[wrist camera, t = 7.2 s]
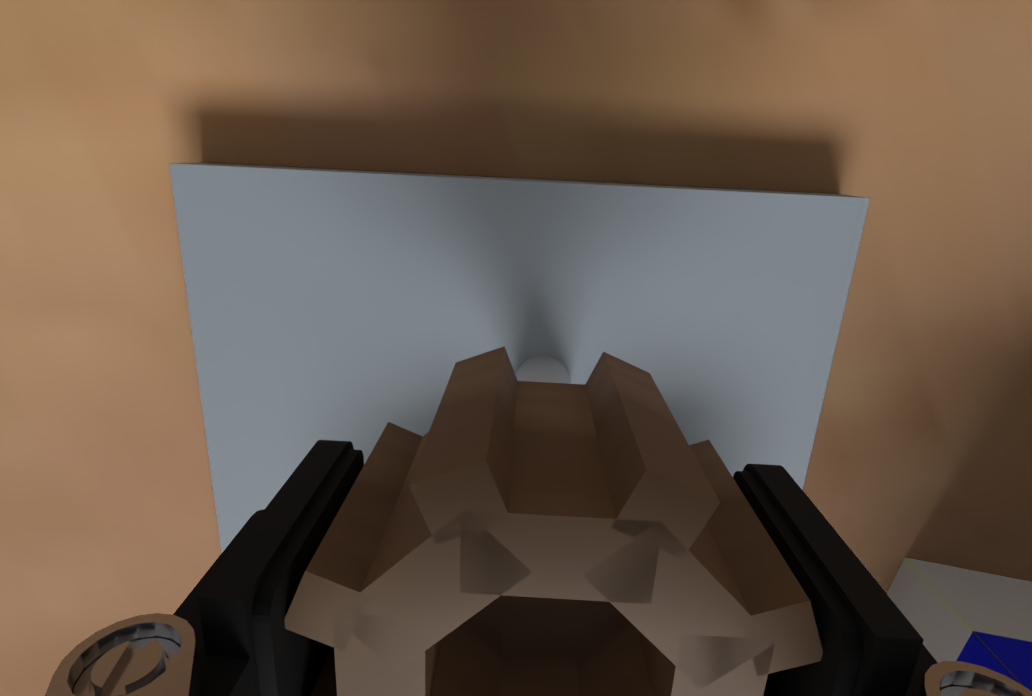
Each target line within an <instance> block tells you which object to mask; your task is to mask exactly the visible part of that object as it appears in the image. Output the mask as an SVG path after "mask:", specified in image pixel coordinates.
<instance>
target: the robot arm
mask: <svg viewBox="0 0 1032 696" xmlns="http://www.w3.org/2000/svg"><path fill="white" fill-rule="evenodd" d="M363 466H364V457H363V452H362V450H354V447H353V444H352V442H351V441H334V440H318V441H317V442H316V443H315V445H314V446H313V447H312V448H311V450H310V451H309V452H308V454H307V455H306V456H305V458H304V459H303V460H302V461H301V463H300V464H299V465H298V467H297V468H296V469H295V470H294V472H293V473H292V474H291V476H290V477H289V478H288V480H287V481H286V482H285V483H284V485H283V486H282V487H281V489H280V490H279V491H278V493H277V494H276V495H275V496H274V498H273V499H272V500H271V502H270V503H269V504H268V506H267V507H266V508H265V509H264V510H258V511H256V512H255V513H254V514H253V515H252V516H251V517H250V518H249V520H248V521H247V522H246V524H245V525H244V526H243V527H242V529H241V530H240V531H239V532H238V534H237V535H236V536H235V537H234V539H233V540H232V541H231V542H230V544H229V545H228V546H227V547H226V549H225V550H224V551H223V553H222V554H221V555H220V556H219V558H218V559H217V560H216V561H215V563H214V564H213V565H212V566H211V568H210V569H209V570H208V571H207V573H206V574H205V575H204V576H203V578H202V579H201V580H200V581H199V583H198V584H197V585H196V587H195V588H194V589H193V590H192V592H191V593H190V594H189V595H188V597H187V598H186V599H185V600H184V602H183V603H182V604H181V605H180V607H179V608H178V609H177V610H176V612H175V613H174V614H173V615H171V614H160V613H155V614H147V615H139V616H135V617H132V618H128V619H125V620H122V621H119V622H116V623H114V624H112V625H110V626H108V627H106V628H103V629H101V630H99V631H97V632H95V633H94V634H93V635H91V636H90V637H88V638H87V639H85V640H84V641H82V642H81V643H80V644H78V645H77V646H76V647H75V648H74V649H73V650H72V651H71V652H70V653H69V654H68V655H67V656H66V657H65V658H64V659H63V660H62V661H61V663H60V665H59V666H58V668H57V670H56V671H55V673H54V675H53V676H52V679H51V682H50V684H49V687H48V689H47V692H46V694H45V696H310V695H311V693H312V691H313V688H314V686H315V684H316V681H317V679H318V676H319V674H320V672H321V669H322V667H323V664H324V662H325V660H326V657H327V655H328V652H329V650H330V648H331V646H329V645H326V644H323V643H321V642H318V641H316V640H313V639H310V638H308V637H305V636H303V635H300V634H297V633H295V632H292V631H289V630H287V629H285V621H284V619H285V617H286V615H287V612H288V610H289V608H290V605H291V603H292V601H293V598H294V596H295V594H296V591H297V589H298V587H299V584H300V582H301V580H302V577H303V575H304V573H305V570H306V569H307V567H308V565H309V563H310V561H311V560H312V558H313V556H314V554H315V552H316V551H317V549H318V547H319V545H320V544H321V542H322V540H323V538H324V536H325V535H326V533H327V531H328V529H329V527H330V526H331V524H332V522H333V520H334V518H335V517H336V515H337V513H338V511H339V509H340V508H341V506H342V504H343V502H344V500H345V499H346V497H347V495H348V493H349V491H350V490H351V488H352V486H353V484H354V482H355V481H356V479H357V477H358V475H359V473H360V472H361V470H362V468H363ZM733 479H734V480H735V482H736V483H737V485H738V487H739V488H740V490H741V491H742V493H743V495H744V496H745V498H746V499H747V501H748V503H749V504H750V506H751V507H752V509H753V511H754V512H755V514H756V515H757V517H758V518H759V520H760V522H761V523H762V525H763V526H764V528H765V530H766V531H767V533H768V534H769V536H770V538H771V539H772V541H773V542H774V544H775V546H776V547H777V549H778V550H779V552H780V554H781V555H782V557H783V558H784V560H785V562H786V563H787V565H788V566H789V568H790V569H791V571H792V573H793V574H794V576H795V577H796V579H797V581H798V582H799V584H800V585H801V587H802V589H803V590H804V592H805V593H806V595H807V597H808V598H809V600H810V602H811V606H812V610H813V614H814V618H815V622H816V626H817V630H818V634H819V638H820V642H821V646H822V650H823V654H822V658H821V661H819V662H815V663H811V664H807V665H803V666H799V667H795V668H791V669H786V670H782V671H778V672H774V673H770V674H768V677H767V681H766V685H765V690H764V696H1032V691H1030V690H1029V689H1028V688H1026V687H1024V686H1023V685H1021V684H1019V683H1017V682H1016V681H1014V680H1012V679H1010V678H1008V677H1007V676H1005V675H1003V674H1000V673H998V672H995V671H993V670H990V669H988V668H985V667H983V666H979V665H975V664H971V663H966V662H962V661H943V662H940V663H938V662H937V661H936V660H935V659H934V657H933V656H932V655H931V654H930V652H929V651H928V650H927V649H926V647H925V646H924V645H923V641H924V639H923V638H922V637H921V636H920V634H919V633H918V632H917V631H916V629H915V628H914V627H913V626H912V625H911V623H910V622H909V621H908V620H907V618H906V617H905V616H904V615H903V613H902V612H901V611H900V610H899V609H898V607H897V606H896V605H895V604H894V602H893V601H892V600H891V599H890V597H889V596H888V595H887V594H886V593H885V591H884V590H883V589H882V588H881V586H880V585H879V584H878V583H877V581H876V580H875V579H874V578H873V577H872V575H871V574H870V573H869V572H868V570H867V569H866V568H865V567H864V565H863V564H862V563H861V562H860V561H859V559H858V558H857V557H856V556H855V554H854V553H853V552H852V551H851V549H850V548H849V547H848V546H847V545H846V543H845V542H844V541H843V540H842V538H841V537H840V536H839V535H838V533H837V532H836V531H835V530H834V529H833V527H832V526H831V525H830V524H829V522H828V521H827V520H826V519H825V517H824V516H823V515H822V514H821V513H820V511H819V510H818V509H817V508H816V506H815V505H814V504H813V503H812V501H811V500H810V499H809V498H808V497H807V495H806V494H805V493H804V492H803V490H802V489H801V488H800V487H799V485H798V484H797V483H796V482H795V481H794V479H793V478H792V477H791V476H790V474H789V473H788V472H787V471H786V470H785V468H784V467H782V466H781V465H766V464H747V465H746V466H745V467H744V469H743V471H736V472H735V473H734V475H733Z"/></svg>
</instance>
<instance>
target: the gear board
mask: <svg viewBox="0 0 1032 696" xmlns="http://www.w3.org/2000/svg"><path fill="white" fill-rule="evenodd" d="M169 167H170V174H171V181H172V189H173V196H174V204H175V211H176V218H177V226H178V233H179V241H180V248H181V255H182V263H183V270H184V278H185V285H186V292H187V300H188V307H189V315H190V322H191V329H192V337H193V344H194V351H195V359H196V366H197V374H198V381H199V388H200V396H201V403H202V411H203V418H204V425H205V433H206V440H207V448H208V455H209V462H210V470H211V477H212V485H213V492H214V499H215V507H216V514H217V522H218V529H219V536H220V544H221V551H222V553H223V551H224V550H225V549H226V547H227V546H228V545H229V544H230V542H231V541H232V540H233V539H234V537H235V536H236V535H237V534H238V532H239V531H240V530H241V529H242V527H243V526H244V525H245V524H246V522H247V521H248V520H249V518H250V517H251V516H252V515H253V514H254V513H255V512H256V511H258V510H264V509H265V508H266V507H267V506H268V504H269V503H270V502H271V500H272V499H273V498H274V496H275V495H276V494H277V493H278V491H279V490H280V489H281V487H282V486H283V485H284V483H285V482H286V481H287V480H288V478H289V477H290V476H291V474H292V473H293V472H294V470H295V469H296V468H297V467H298V465H299V464H300V463H301V461H302V460H303V459H304V458H305V456H306V455H307V454H308V452H309V451H310V450H311V448H312V447H313V446H314V445H315V443H316V442H317V441H318V440H334V441H351V442H352V444H353V447H354V450H362V452H363V457H364V465H365V463H366V461H367V459H368V457H369V456H370V454H371V452H372V450H373V448H374V447H375V445H376V443H377V441H378V439H379V438H380V436H381V434H382V432H383V430H384V429H385V427H386V425H387V423H388V422H390V423H393V424H395V425H397V426H400V427H402V428H404V429H407V430H409V431H411V432H414V433H416V434H418V435H420V436H424V435H425V434H426V433H427V432H429V430H430V428H431V425H432V423H433V420H434V417H435V415H436V412H437V410H438V407H439V404H440V402H441V399H442V397H443V394H444V392H445V389H446V386H447V384H448V381H449V379H450V376H451V373H452V371H453V368H454V366H455V363H456V362H459V361H462V360H465V359H468V358H471V357H474V356H477V355H480V354H483V353H486V352H489V351H492V350H494V349H497V348H500V347H503V346H505V349H506V352H507V354H508V357H509V360H510V362H511V365H512V367H513V370H514V373H515V375H516V378H517V380H518V381H530V382H548V383H567V384H586V382H587V380H588V378H589V377H590V375H591V373H592V371H593V369H594V368H595V366H596V364H597V362H598V360H599V358H600V357H601V355H602V353H603V352H606V353H608V354H610V355H612V356H614V357H616V358H618V359H621V360H623V361H625V362H627V363H629V364H631V365H634V366H636V367H638V368H640V369H642V370H644V371H646V372H649V373H650V375H651V376H652V378H653V380H654V382H655V384H656V386H657V387H658V389H659V391H660V393H661V395H662V397H663V398H664V400H665V402H666V404H667V406H668V408H669V409H670V411H671V413H672V415H673V417H674V419H675V420H676V422H677V424H678V426H679V428H680V430H681V432H682V433H683V435H684V437H685V439H686V441H687V443H688V444H689V445H692V444H695V443H699V442H702V441H705V440H710V442H711V444H712V445H713V447H714V448H715V450H716V452H717V453H718V455H719V456H720V458H721V460H722V461H723V463H724V464H725V466H726V467H727V469H728V471H729V472H730V474H731V475H732V477H733V475H734V473H735V472H736V471H743V469H744V467H745V466H746V465H747V464H766V465H781V466H782V467H784V468H785V470H786V471H787V472H788V473H789V474H790V476H791V477H792V478H793V479H794V481H795V482H796V483H797V484H798V485H799V487H800V488H801V489H802V490H803V485H804V481H805V477H806V472H807V468H808V464H809V459H810V455H811V451H812V446H813V442H814V438H815V433H816V429H817V425H818V420H819V416H820V412H821V408H822V403H823V399H824V395H825V390H826V386H827V382H828V377H829V373H830V369H831V364H832V360H833V356H834V351H835V347H836V343H837V338H838V334H839V330H840V325H841V321H842V317H843V312H844V308H845V304H846V299H847V295H848V291H849V286H850V282H851V278H852V274H853V269H854V265H855V261H856V256H857V252H858V248H859V243H860V239H861V235H862V230H863V226H864V222H865V217H866V213H867V209H868V204H869V200H870V198H865V197H857V196H849V195H842V194H823V193H803V192H782V191H762V190H742V189H722V188H702V187H681V186H661V185H641V184H621V183H600V182H580V181H560V180H540V179H519V178H499V177H479V176H459V175H439V174H418V173H398V172H378V171H358V170H337V169H317V168H297V167H277V166H256V165H236V164H216V163H169Z"/></svg>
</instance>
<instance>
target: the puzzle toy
mask: <svg viewBox="0 0 1032 696" xmlns="http://www.w3.org/2000/svg"><path fill="white" fill-rule="evenodd" d="M887 595H888V596H889V597H890V599H891V600H892V601H893V602H894V604H895V605H896V606H897V607H898V609H899V610H900V611H901V612H902V613H903V615H904V616H905V617H906V618H907V620H908V621H909V622H910V623H911V625H912V626H913V627H914V628H915V629H916V631H917V632H918V633H919V634H920V636H921V637H922V638H923V639H924V641H923V645H924V646H925V647H926V649H927V650H928V651H929V652H930V654H931V655H932V656H933V657H934V659H935V660H936V661H937V662H938V663H940V662H943V661H962V662H966V663H971V664H975V665H979V666H983V667H985V668H988V669H990V670H993V671H995V672H998V673H1000V674H1003V675H1005V676H1007V677H1008V678H1010V679H1012V680H1014V681H1016V682H1017V683H1019V684H1021V685H1023V686H1024V687H1026V688H1028V689H1029V690H1030V691H1032V582H1031V581H1026V580H1021V579H1015V578H1010V577H1005V576H1000V575H995V574H989V573H984V572H979V571H974V570H968V569H963V568H958V567H953V566H948V565H942V564H937V563H932V562H927V561H922V560H916V559H911V558H906V557H905V558H904V560H903V562H902V564H901V566H900V568H899V570H898V572H897V574H896V576H895V578H894V580H893V582H892V584H891V586H890V588H889V590H888V592H887Z"/></svg>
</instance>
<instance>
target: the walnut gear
mask: <svg viewBox="0 0 1032 696" xmlns="http://www.w3.org/2000/svg"><path fill="white" fill-rule="evenodd" d="M284 621H285V629H287V630H289V631H292V632H295V633H297V634H300V635H303V636H305V637H308V638H310V639H313V640H316V641H318V642H321V643H323V644H326V645H329V646H331V648H330V650H329V652H328V655H327V657H326V660H325V662H324V664H323V667H322V669H321V672H320V674H319V676H318V679H317V681H316V684H315V686H314V688H313V691H312V693H311V695H310V696H764V690H765V685H766V681H767V677H768V674H770V673H774V672H778V671H782V670H786V669H791V668H795V667H799V666H803V665H807V664H811V663H815V662H819V661H821V658H822V654H823V650H822V646H821V642H820V638H819V634H818V630H817V626H816V622H815V618H814V614H813V610H812V606H811V602H810V600H809V598H808V597H807V595H806V593H805V592H804V590H803V589H802V587H801V585H800V584H799V582H798V581H797V579H796V577H795V576H794V574H793V573H792V571H791V569H790V568H789V566H788V565H787V563H786V562H785V560H784V558H783V557H782V555H781V554H780V552H779V550H778V549H777V547H776V546H775V544H774V542H773V541H772V539H771V538H770V536H769V534H768V533H767V531H766V530H765V528H764V526H763V525H762V523H761V522H760V520H759V518H758V517H757V515H756V514H755V512H754V511H753V509H752V507H751V506H750V504H749V503H748V501H747V499H746V498H745V496H744V495H743V493H742V491H741V490H740V488H739V487H738V485H737V483H736V482H735V480H734V479H733V477H732V475H731V474H730V472H729V471H728V469H727V467H726V466H725V464H724V463H723V461H722V460H721V458H720V456H719V455H718V453H717V452H716V450H715V448H714V447H713V445H712V444H711V442H710V440H705V441H702V442H699V443H695V444H692V445H689V444H688V443H687V441H686V439H685V437H684V435H683V433H682V432H681V430H680V428H679V426H678V424H677V422H676V420H675V419H674V417H673V415H672V413H671V411H670V409H669V408H668V406H667V404H666V402H665V400H664V398H663V397H662V395H661V393H660V391H659V389H658V387H657V386H656V384H655V382H654V380H653V378H652V376H651V375H650V373H649V372H646V371H644V370H642V369H640V368H638V367H636V366H634V365H631V364H629V363H627V362H625V361H623V360H621V359H618V358H616V357H614V356H612V355H610V354H608V353H606V352H603V353H602V355H601V357H600V358H599V360H598V362H597V364H596V366H595V368H594V369H593V371H592V373H591V375H590V377H589V378H588V380H587V382H586V384H567V383H548V382H530V381H518V380H517V378H516V375H515V373H514V370H513V367H512V365H511V362H510V360H509V357H508V354H507V352H506V349H505V346H503V347H500V348H497V349H494V350H492V351H489V352H486V353H483V354H480V355H477V356H474V357H471V358H468V359H465V360H462V361H459V362H456V363H455V366H454V368H453V371H452V373H451V376H450V379H449V381H448V384H447V386H446V389H445V392H444V394H443V397H442V399H441V402H440V404H439V407H438V410H437V412H436V415H435V417H434V420H433V423H432V425H431V428H430V430H429V432H427V433H426V434H425V435H424V436H420V435H418V434H416V433H414V432H411V431H409V430H407V429H404V428H402V427H400V426H397V425H395V424H393V423H390V422H388V423H387V425H386V427H385V429H384V430H383V432H382V434H381V436H380V438H379V439H378V441H377V443H376V445H375V447H374V448H373V450H372V452H371V454H370V456H369V457H368V459H367V461H366V463H365V465H364V466H363V468H362V470H361V472H360V473H359V475H358V477H357V479H356V481H355V482H354V484H353V486H352V488H351V490H350V491H349V493H348V495H347V497H346V499H345V500H344V502H343V504H342V506H341V508H340V509H339V511H338V513H337V515H336V517H335V518H334V520H333V522H332V524H331V526H330V527H329V529H328V531H327V533H326V535H325V536H324V538H323V540H322V542H321V544H320V545H319V547H318V549H317V551H316V552H315V554H314V556H313V558H312V560H311V561H310V563H309V565H308V567H307V569H306V570H305V573H304V575H303V577H302V580H301V582H300V584H299V587H298V589H297V591H296V594H295V596H294V598H293V601H292V603H291V605H290V608H289V610H288V612H287V615H286V617H285V619H284Z"/></svg>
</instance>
